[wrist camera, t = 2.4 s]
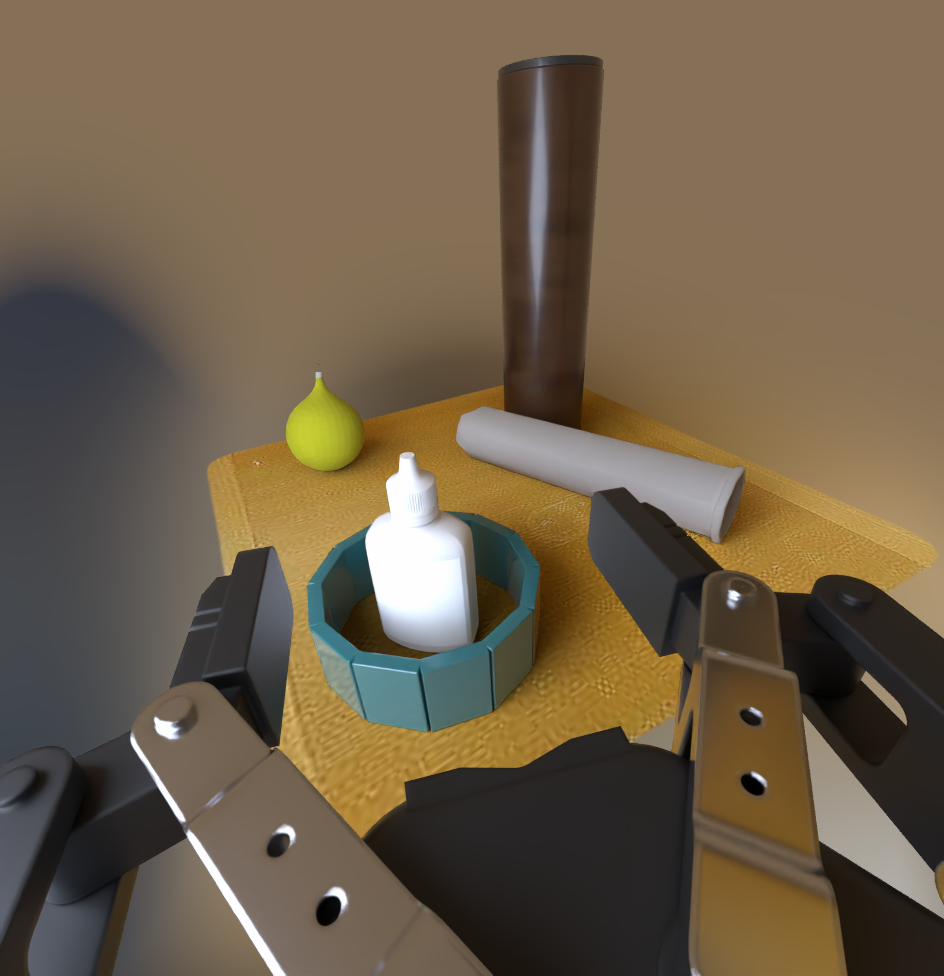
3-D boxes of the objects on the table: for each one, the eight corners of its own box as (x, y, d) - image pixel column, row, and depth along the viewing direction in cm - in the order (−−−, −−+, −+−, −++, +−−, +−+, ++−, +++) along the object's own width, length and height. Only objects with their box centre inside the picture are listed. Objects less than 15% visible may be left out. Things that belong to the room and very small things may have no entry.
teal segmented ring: (576, 684, 26) (581, 624, 24) (334, 765, 23) (312, 706, 21) (493, 545, 36) (491, 494, 34) (319, 589, 33) (304, 536, 31)
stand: (594, 437, 50) (626, 54, 35) (522, 452, 48) (521, 54, 33) (559, 410, 57) (572, 77, 41) (494, 422, 55) (482, 78, 39)
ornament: (352, 443, 52) (332, 350, 47) (382, 467, 48) (364, 366, 42) (286, 465, 49) (257, 367, 44) (311, 493, 44) (282, 387, 39)
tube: (438, 424, 46) (722, 508, 31) (472, 390, 48) (750, 454, 34) (455, 464, 49) (715, 556, 35) (485, 431, 52) (741, 504, 37)
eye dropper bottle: (439, 680, 27) (413, 494, 20) (374, 630, 30) (334, 457, 24) (491, 631, 29) (481, 453, 23) (425, 590, 33) (402, 425, 26)
